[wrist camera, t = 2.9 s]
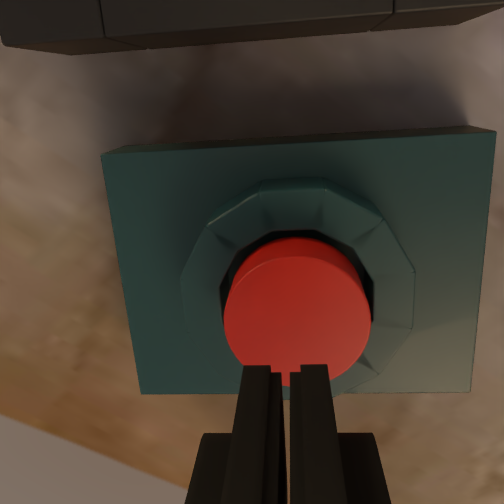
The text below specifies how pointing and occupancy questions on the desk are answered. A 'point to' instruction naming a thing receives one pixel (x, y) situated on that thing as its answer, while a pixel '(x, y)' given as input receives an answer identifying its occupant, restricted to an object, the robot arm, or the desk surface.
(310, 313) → the switch button
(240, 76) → the desk surface
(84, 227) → the desk surface
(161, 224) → the switch box
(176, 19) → the socket block
